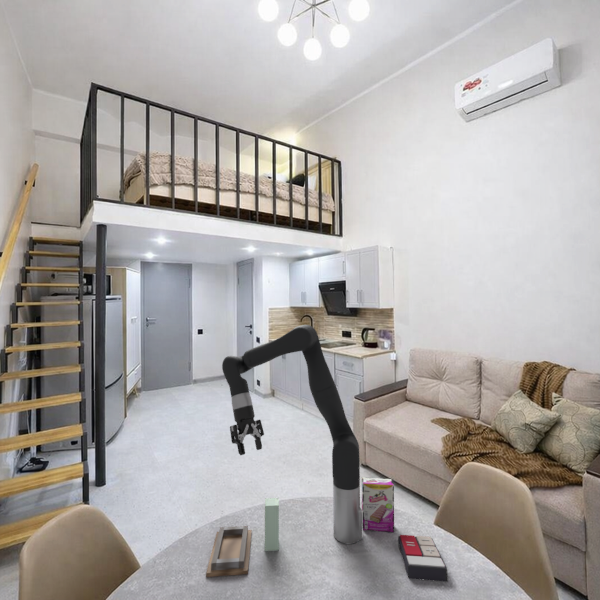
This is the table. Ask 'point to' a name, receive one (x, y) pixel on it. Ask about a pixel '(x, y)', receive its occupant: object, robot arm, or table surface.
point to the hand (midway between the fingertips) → (251, 452)
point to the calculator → (422, 558)
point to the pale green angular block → (271, 524)
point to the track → (230, 552)
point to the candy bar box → (377, 504)
